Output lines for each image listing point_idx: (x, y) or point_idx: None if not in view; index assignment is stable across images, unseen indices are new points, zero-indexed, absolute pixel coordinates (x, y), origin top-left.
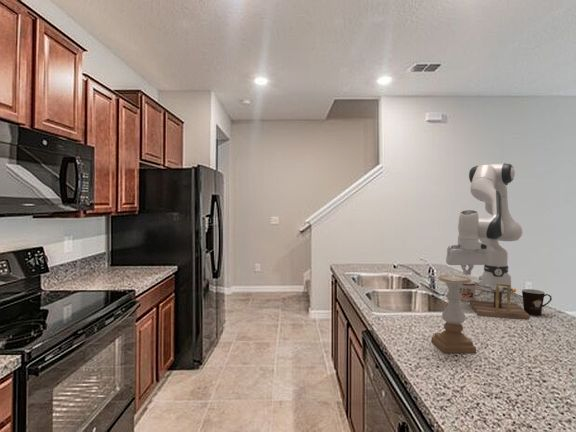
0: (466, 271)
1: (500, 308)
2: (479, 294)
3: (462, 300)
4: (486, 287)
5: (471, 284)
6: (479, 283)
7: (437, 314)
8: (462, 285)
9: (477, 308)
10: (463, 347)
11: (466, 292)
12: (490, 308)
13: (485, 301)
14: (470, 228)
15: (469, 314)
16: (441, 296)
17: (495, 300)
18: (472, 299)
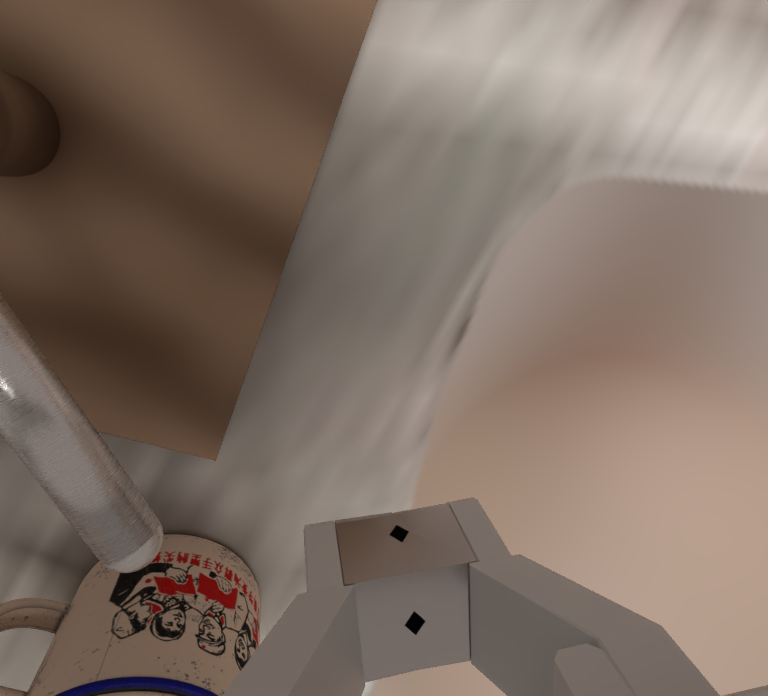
0: (470, 552)
1: (3, 37)
2: (16, 604)
3: (235, 555)
4: (9, 311)
5: (98, 692)
6: (82, 460)
7: (741, 88)
8: (224, 692)
9: (326, 81)
10: None
11: (191, 603)
12: (153, 56)
13: None
14: None
15: (441, 42)
16: None
17: (8, 93)
18: None
